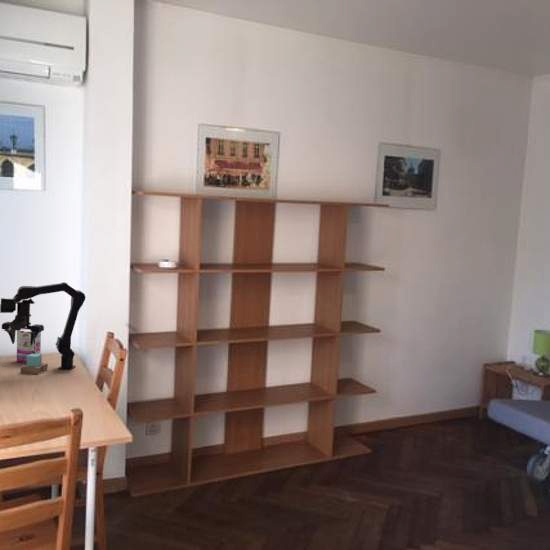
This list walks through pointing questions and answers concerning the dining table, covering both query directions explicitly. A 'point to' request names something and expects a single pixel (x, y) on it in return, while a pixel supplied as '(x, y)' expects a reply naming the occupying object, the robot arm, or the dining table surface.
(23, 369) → the walnut base block
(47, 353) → the dining table surface
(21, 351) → the candy bar box
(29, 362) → the teal cube
